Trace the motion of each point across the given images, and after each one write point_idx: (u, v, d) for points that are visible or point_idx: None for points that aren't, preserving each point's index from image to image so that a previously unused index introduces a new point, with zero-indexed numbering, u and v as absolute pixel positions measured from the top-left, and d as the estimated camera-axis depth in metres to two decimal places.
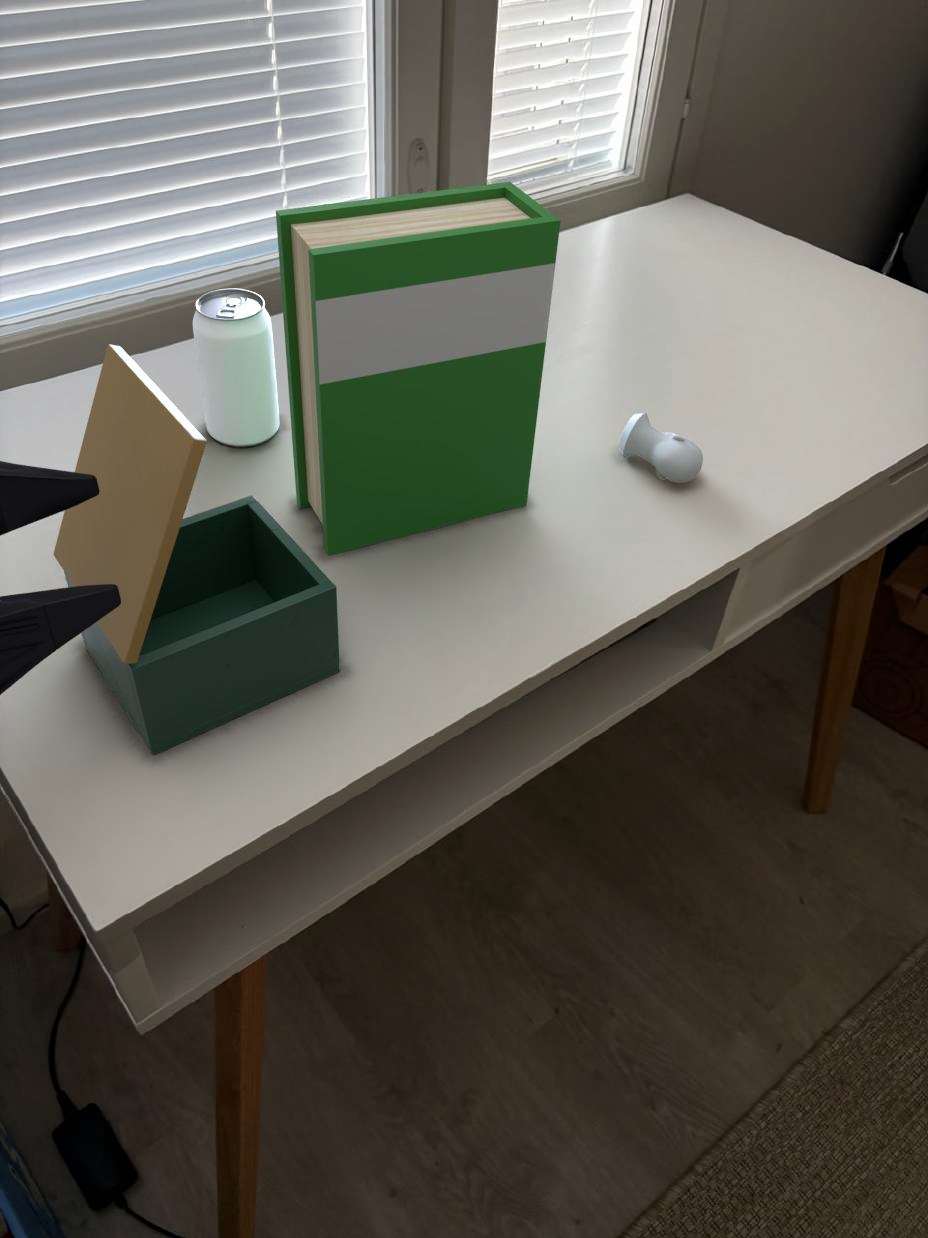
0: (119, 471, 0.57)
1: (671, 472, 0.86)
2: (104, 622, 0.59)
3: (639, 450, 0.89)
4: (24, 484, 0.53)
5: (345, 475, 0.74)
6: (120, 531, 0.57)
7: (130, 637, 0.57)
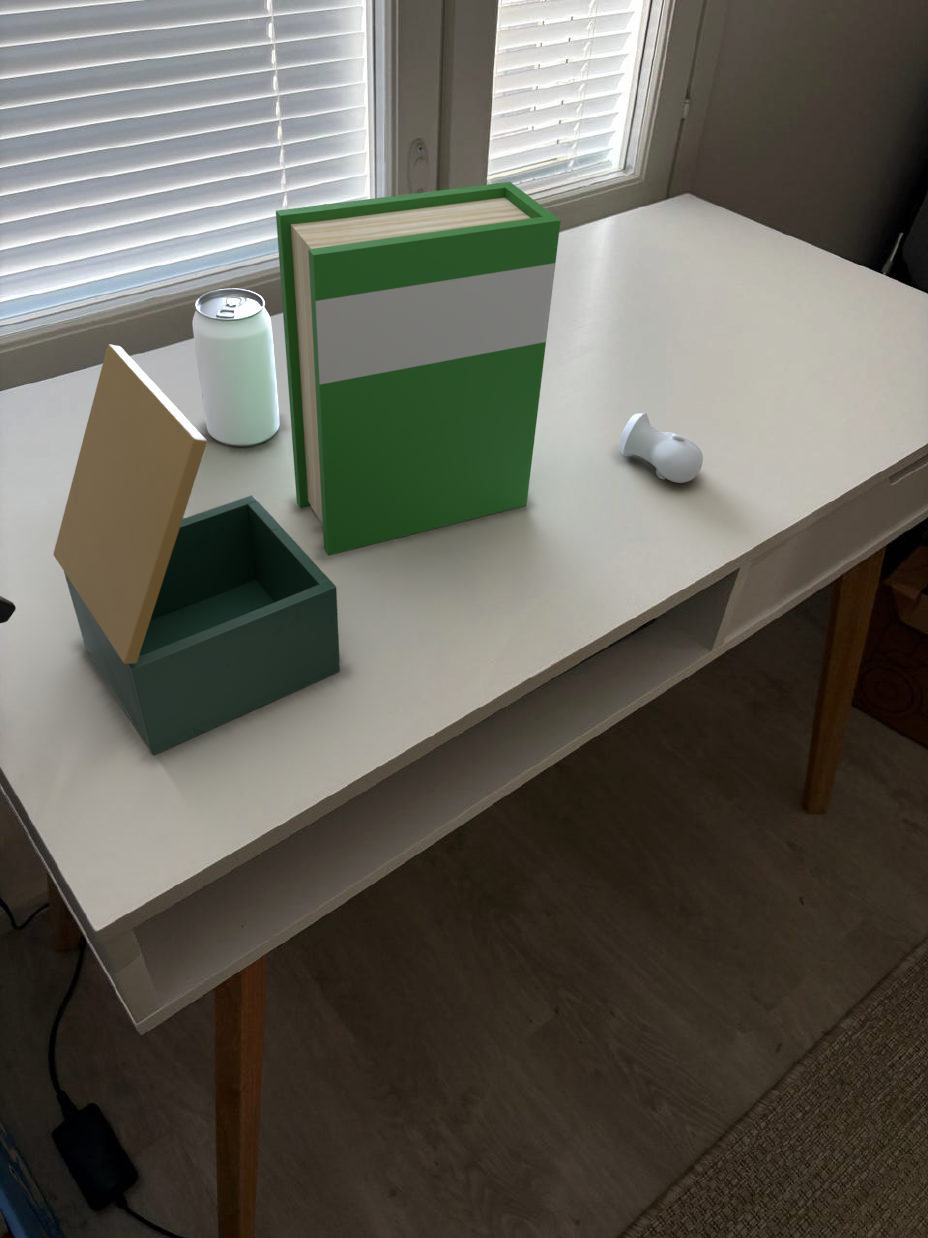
0: (119, 471, 0.57)
1: (671, 472, 0.86)
2: (104, 622, 0.59)
3: (639, 450, 0.89)
4: None
5: (345, 475, 0.74)
6: (120, 531, 0.57)
7: (130, 637, 0.57)
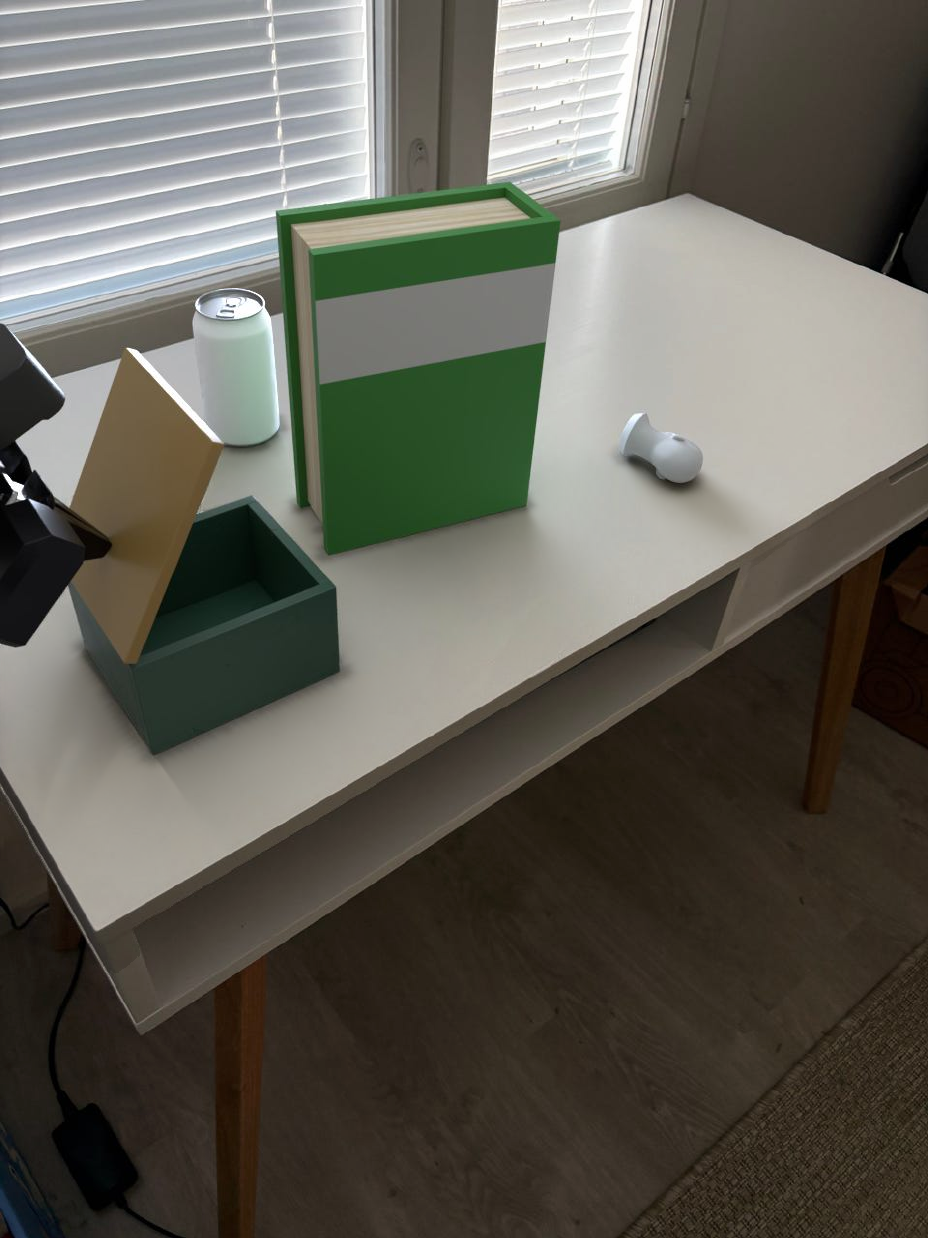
0: (130, 472, 0.58)
1: (671, 472, 0.86)
2: (105, 622, 0.59)
3: (639, 450, 0.89)
4: None
5: (345, 475, 0.74)
6: (128, 531, 0.58)
7: (133, 637, 0.57)
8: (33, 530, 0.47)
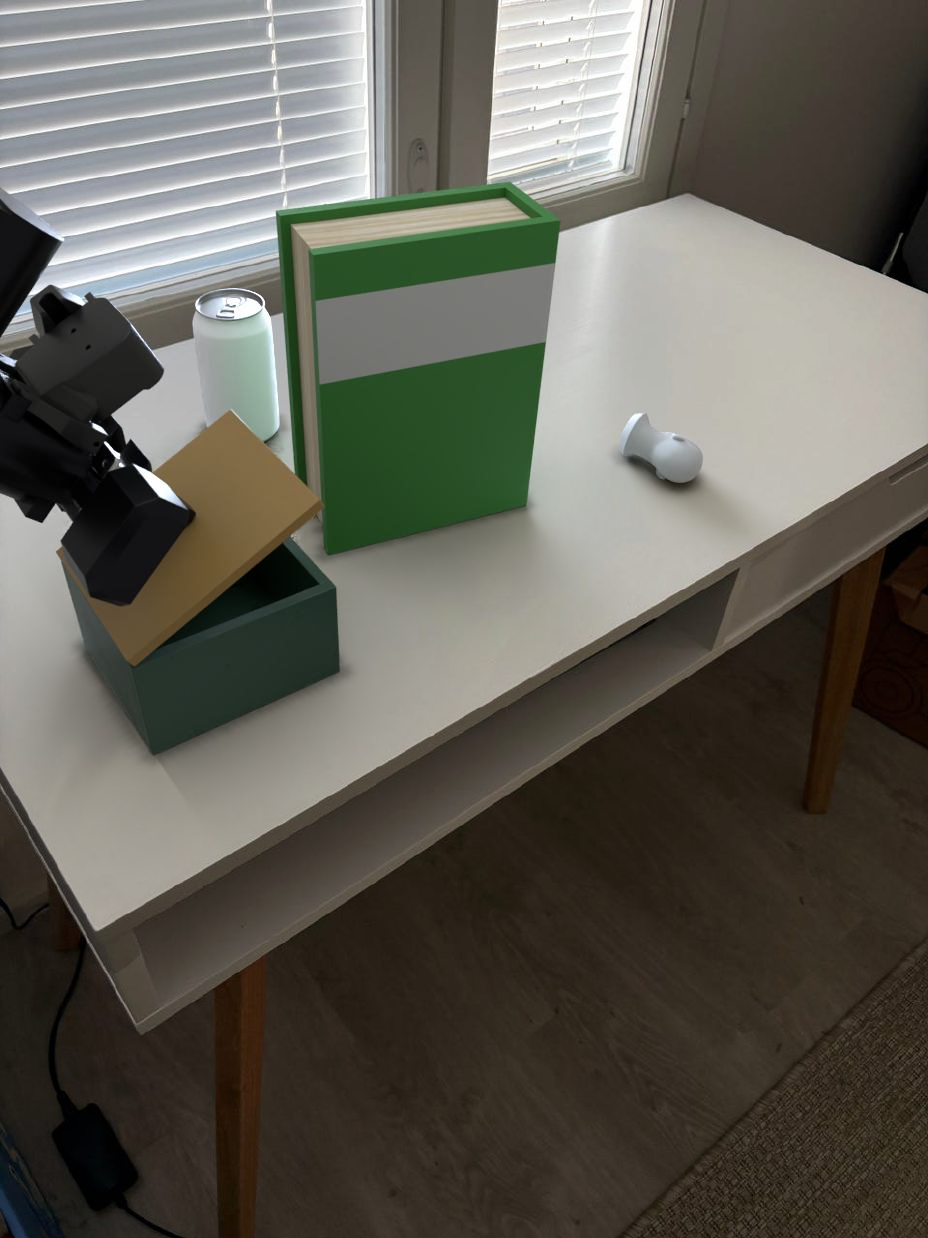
0: (200, 503, 0.62)
1: (671, 472, 0.86)
2: (112, 620, 0.59)
3: (639, 450, 0.89)
4: None
5: (345, 475, 0.74)
6: (178, 549, 0.61)
7: (150, 638, 0.58)
8: (141, 493, 0.49)
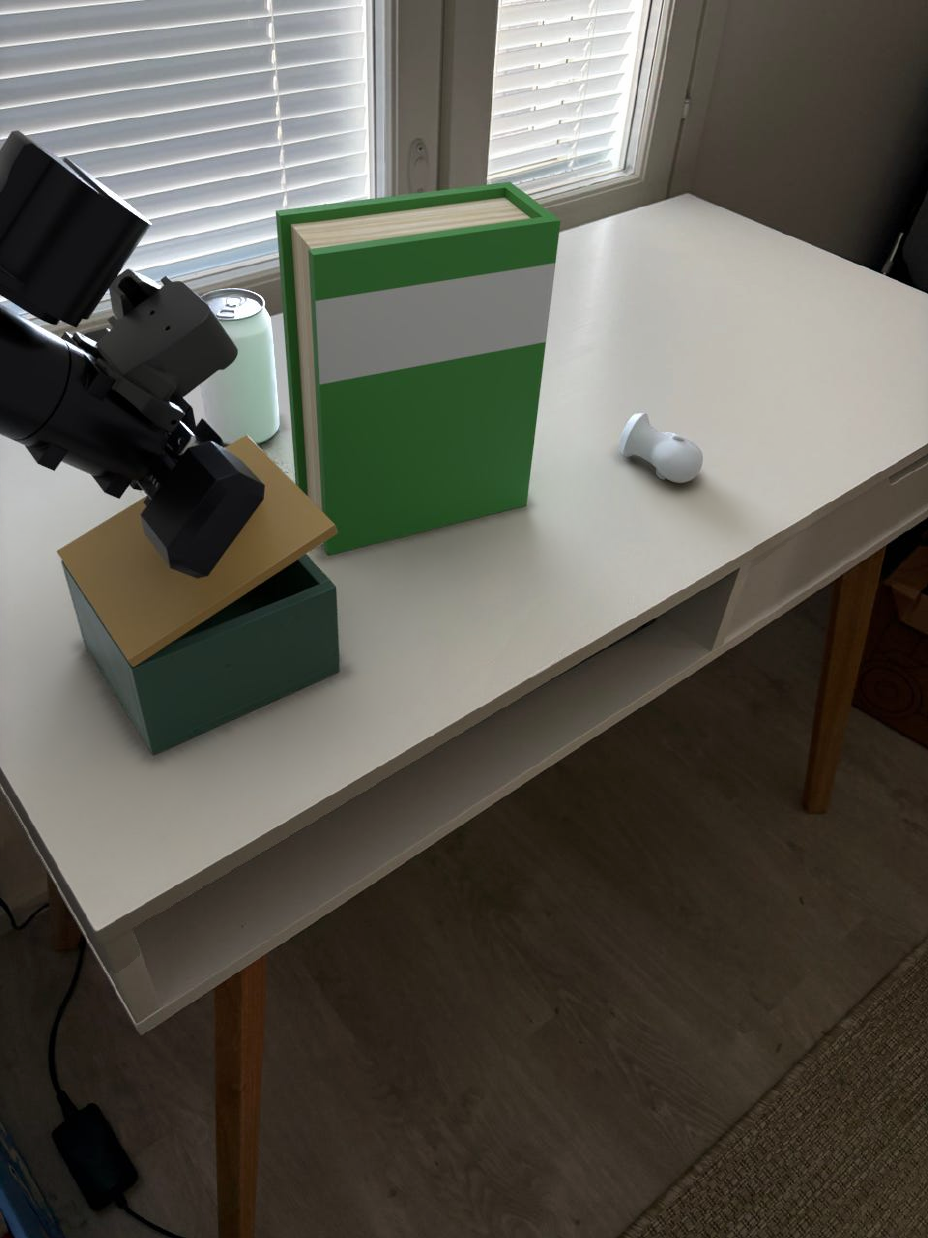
0: None
1: (671, 472, 0.86)
2: (114, 620, 0.60)
3: (639, 450, 0.89)
4: None
5: (345, 475, 0.74)
6: None
7: (154, 640, 0.58)
8: (221, 468, 0.51)
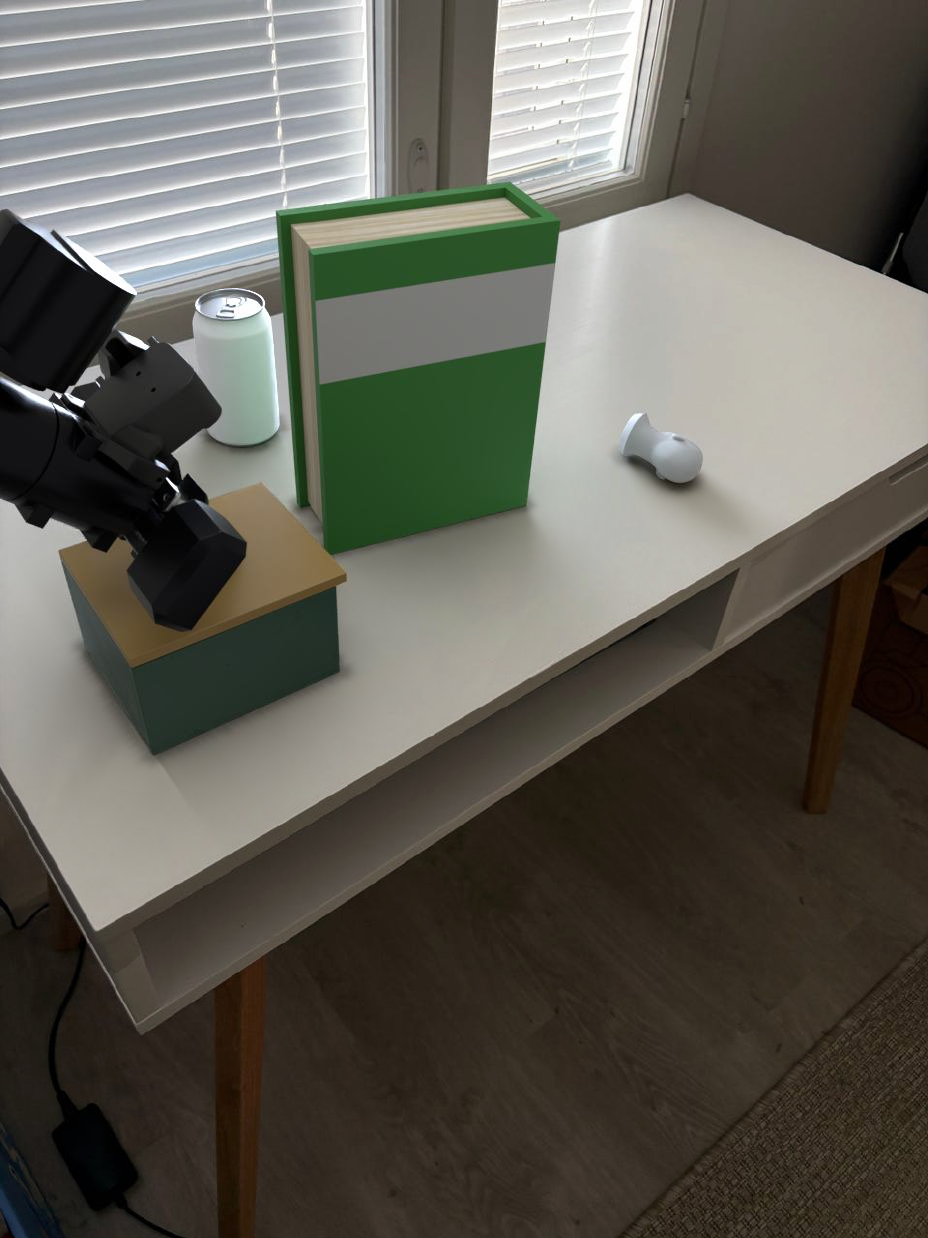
0: None
1: (671, 472, 0.86)
2: (117, 622, 0.60)
3: (639, 450, 0.89)
4: None
5: (345, 475, 0.74)
6: None
7: (158, 645, 0.58)
8: (204, 527, 0.52)
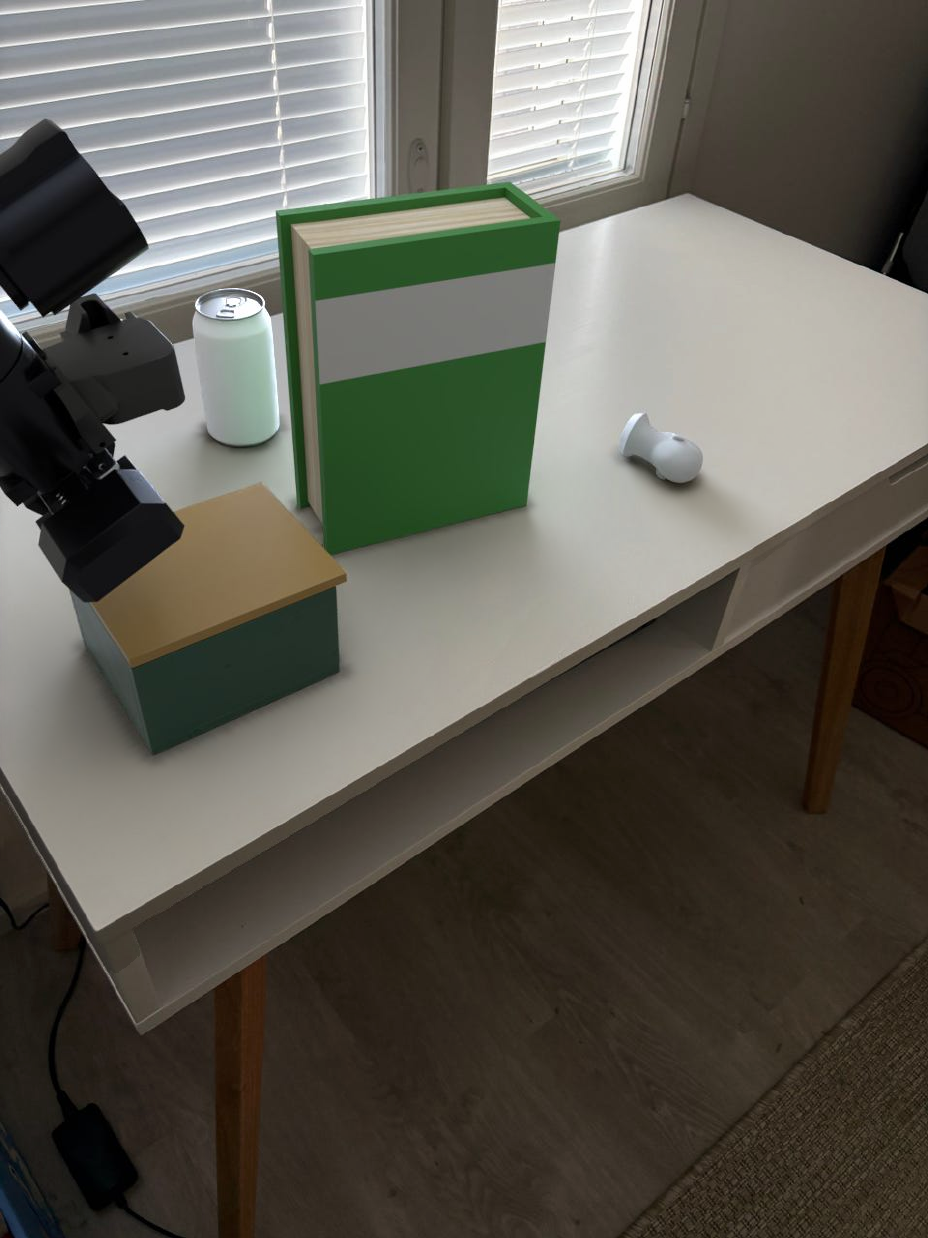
0: (224, 547, 0.65)
1: (671, 472, 0.86)
2: (117, 622, 0.60)
3: (639, 450, 0.89)
4: None
5: (345, 475, 0.74)
6: (196, 578, 0.63)
7: (158, 645, 0.58)
8: (147, 495, 0.49)
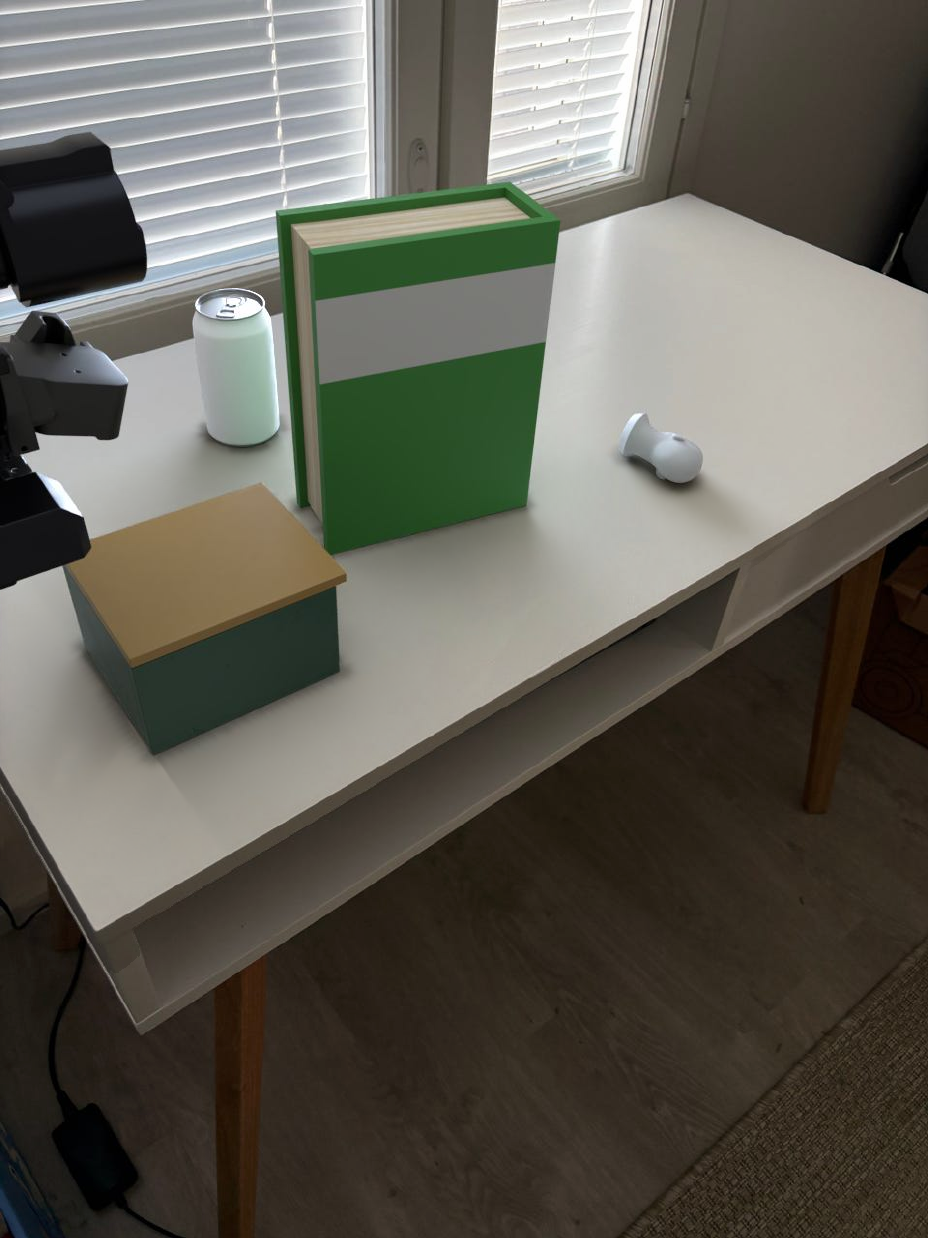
0: (224, 547, 0.65)
1: (671, 472, 0.86)
2: (117, 622, 0.60)
3: (639, 450, 0.89)
4: None
5: (345, 475, 0.74)
6: (196, 578, 0.63)
7: (158, 645, 0.58)
8: (66, 504, 0.47)
